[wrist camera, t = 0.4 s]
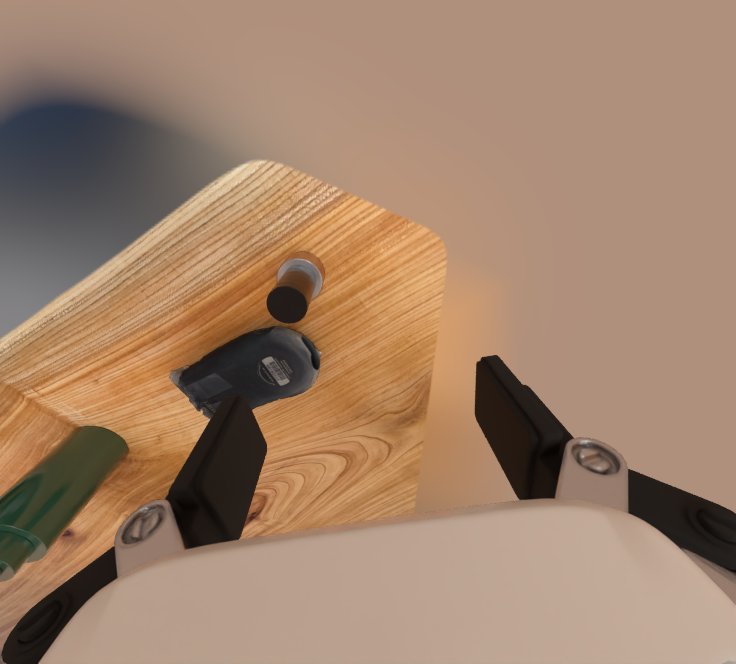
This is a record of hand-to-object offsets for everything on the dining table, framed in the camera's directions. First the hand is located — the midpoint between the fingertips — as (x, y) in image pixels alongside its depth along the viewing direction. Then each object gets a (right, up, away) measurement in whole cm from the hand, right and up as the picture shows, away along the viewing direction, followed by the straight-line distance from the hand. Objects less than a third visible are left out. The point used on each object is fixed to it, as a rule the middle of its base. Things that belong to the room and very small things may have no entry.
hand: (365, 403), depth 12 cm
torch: (-6, +9, +18) cm, 21 cm away
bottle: (-36, -12, +27) cm, 47 cm away
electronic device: (-13, -1, +23) cm, 26 cm away
